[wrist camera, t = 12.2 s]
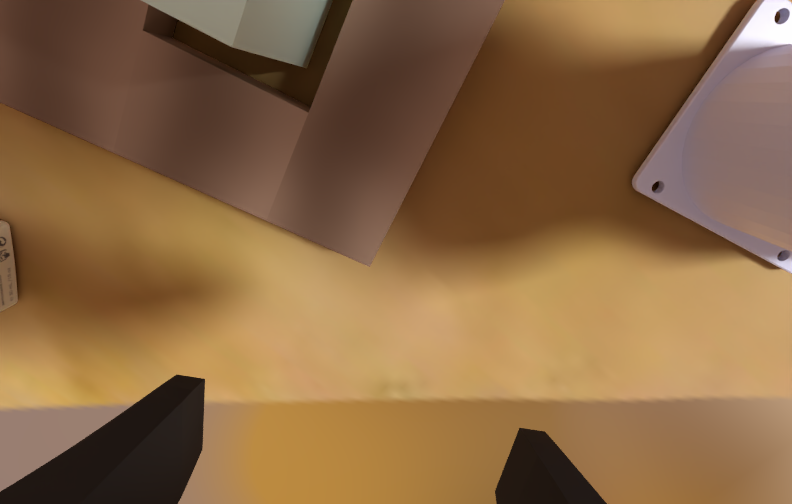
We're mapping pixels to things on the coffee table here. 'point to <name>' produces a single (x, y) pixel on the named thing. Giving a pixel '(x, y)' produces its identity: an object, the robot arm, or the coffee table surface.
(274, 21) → the sage peg
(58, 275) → the coffee table surface
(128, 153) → the walnut socket frame
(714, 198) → the robot arm
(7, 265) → the skincare box
